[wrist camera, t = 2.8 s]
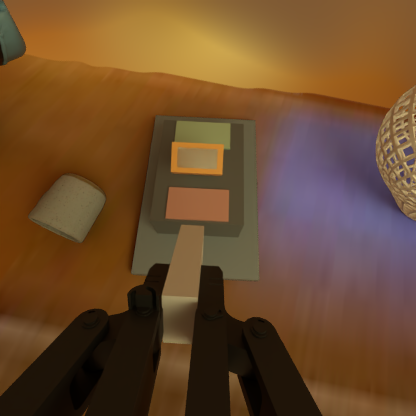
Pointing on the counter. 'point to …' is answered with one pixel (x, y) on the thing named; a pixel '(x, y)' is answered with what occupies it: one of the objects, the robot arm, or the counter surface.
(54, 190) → the ceramic mug
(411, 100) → the heart
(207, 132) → the breaker box
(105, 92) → the counter surface
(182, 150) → the breaker lever
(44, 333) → the counter surface
